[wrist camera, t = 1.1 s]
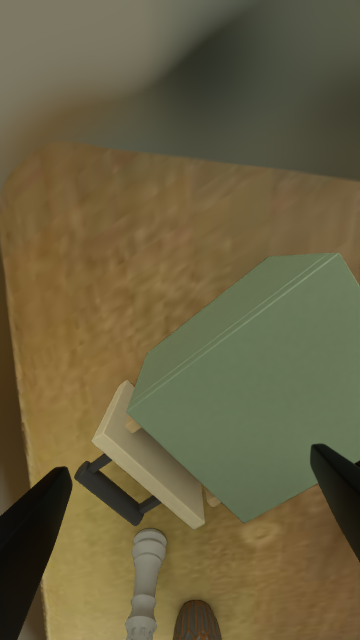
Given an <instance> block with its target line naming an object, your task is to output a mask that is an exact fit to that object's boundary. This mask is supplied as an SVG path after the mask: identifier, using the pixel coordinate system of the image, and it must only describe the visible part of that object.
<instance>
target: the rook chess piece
mask: <svg viewBox="0 0 360 640" xmlns="http://www.w3.org/2000/svg"><path fill="white" fill-rule="evenodd" d="M133 543H134V547H133V550H132V555H133V559H134V566H135V586H134V594H133V597H132V599H131V605H132V611H131V614H130V616H129V617H128V619H127V621H126V623H125V626H126V630H127V640H130V639H131V640H152V638H153V633H154V632H155V630H156V628H157V624H156V620H155V618H154V607H155V605H156V599H155V592H156V584H157V578H158V573H159V569H160V568H161V565H162V562H163V560H164V558H165V554H166V550H165V547H166V545H167V542H166V538H165V536H164V535H163V534H162V532H160V531H159V530H157V529H152V528H150V529H144V530H141V531H140V532H139V533H138V534H137V535H136V536H135V538H134V541H133Z"/></svg>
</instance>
